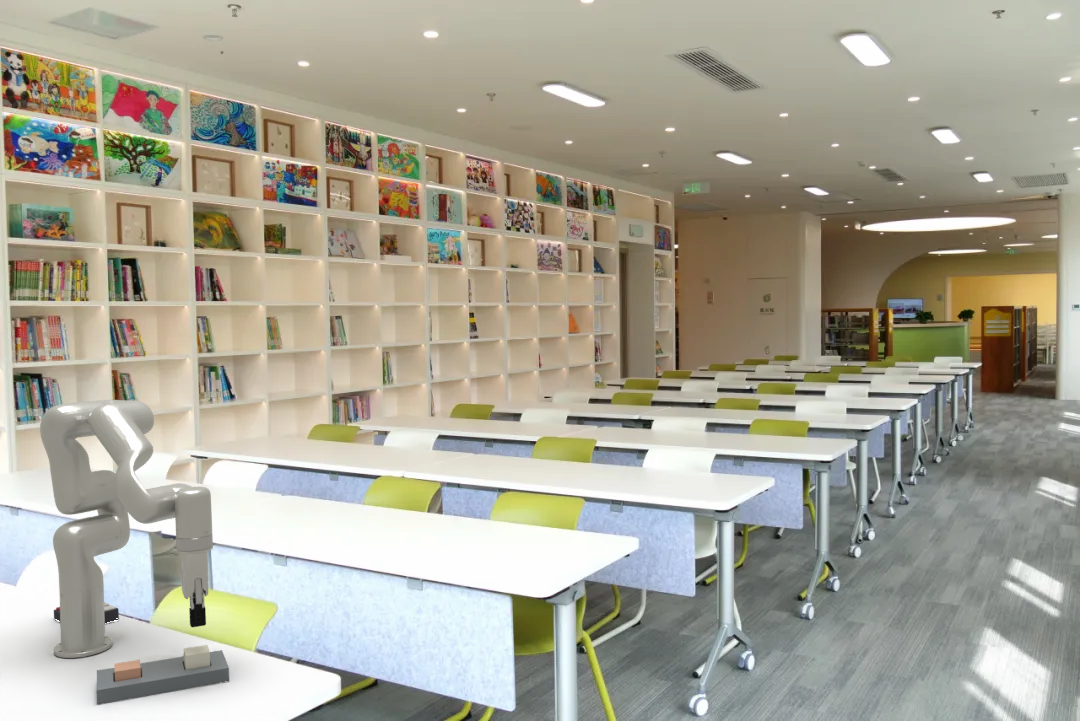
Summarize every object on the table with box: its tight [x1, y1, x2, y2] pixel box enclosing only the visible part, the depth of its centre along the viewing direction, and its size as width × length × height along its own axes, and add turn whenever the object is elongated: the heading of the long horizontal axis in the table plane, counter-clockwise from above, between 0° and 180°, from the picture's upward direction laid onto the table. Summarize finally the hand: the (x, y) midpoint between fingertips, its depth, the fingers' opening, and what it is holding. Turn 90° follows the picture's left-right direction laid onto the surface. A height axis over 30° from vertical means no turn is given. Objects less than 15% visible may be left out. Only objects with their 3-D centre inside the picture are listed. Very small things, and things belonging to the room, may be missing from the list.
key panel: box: [96, 649, 230, 705], centre depth 194 cm, size 12×26×3 cm, turn 116°
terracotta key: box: [114, 659, 141, 682], centre depth 191 cm, size 5×5×4 cm
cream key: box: [183, 644, 211, 670], centre depth 197 cm, size 5×5×4 cm
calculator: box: [53, 602, 120, 623], centre depth 236 cm, size 11×4×15 cm
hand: (198, 625), depth 196 cm, fingers closed
